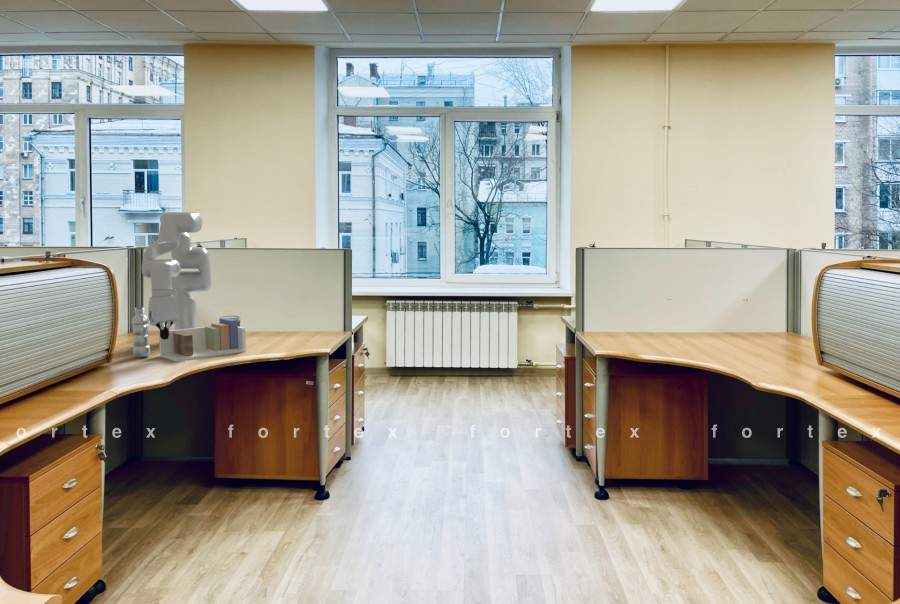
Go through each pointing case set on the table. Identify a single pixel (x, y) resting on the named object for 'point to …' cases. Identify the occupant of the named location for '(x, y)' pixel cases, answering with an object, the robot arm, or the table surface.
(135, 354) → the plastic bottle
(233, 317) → the disposable coffee cup
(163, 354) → the shelf
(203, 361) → the table surface
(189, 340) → the bookend
